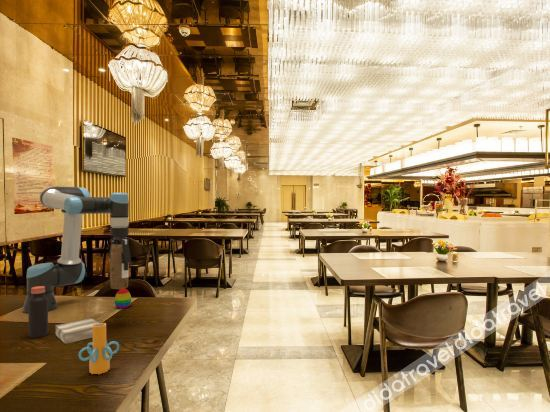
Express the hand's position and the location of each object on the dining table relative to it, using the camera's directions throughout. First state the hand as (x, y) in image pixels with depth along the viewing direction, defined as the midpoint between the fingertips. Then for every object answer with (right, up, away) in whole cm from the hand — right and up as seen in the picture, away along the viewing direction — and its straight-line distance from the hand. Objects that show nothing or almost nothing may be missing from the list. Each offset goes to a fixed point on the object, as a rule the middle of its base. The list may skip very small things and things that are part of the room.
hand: (119, 275), depth 165 cm
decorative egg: (-11, -23, +30) cm, 39 cm away
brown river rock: (0, -5, 0) cm, 5 cm away
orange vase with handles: (+13, -23, -45) cm, 52 cm away
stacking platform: (-12, -22, -12) cm, 28 cm away
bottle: (-29, -23, -12) cm, 39 cm away
